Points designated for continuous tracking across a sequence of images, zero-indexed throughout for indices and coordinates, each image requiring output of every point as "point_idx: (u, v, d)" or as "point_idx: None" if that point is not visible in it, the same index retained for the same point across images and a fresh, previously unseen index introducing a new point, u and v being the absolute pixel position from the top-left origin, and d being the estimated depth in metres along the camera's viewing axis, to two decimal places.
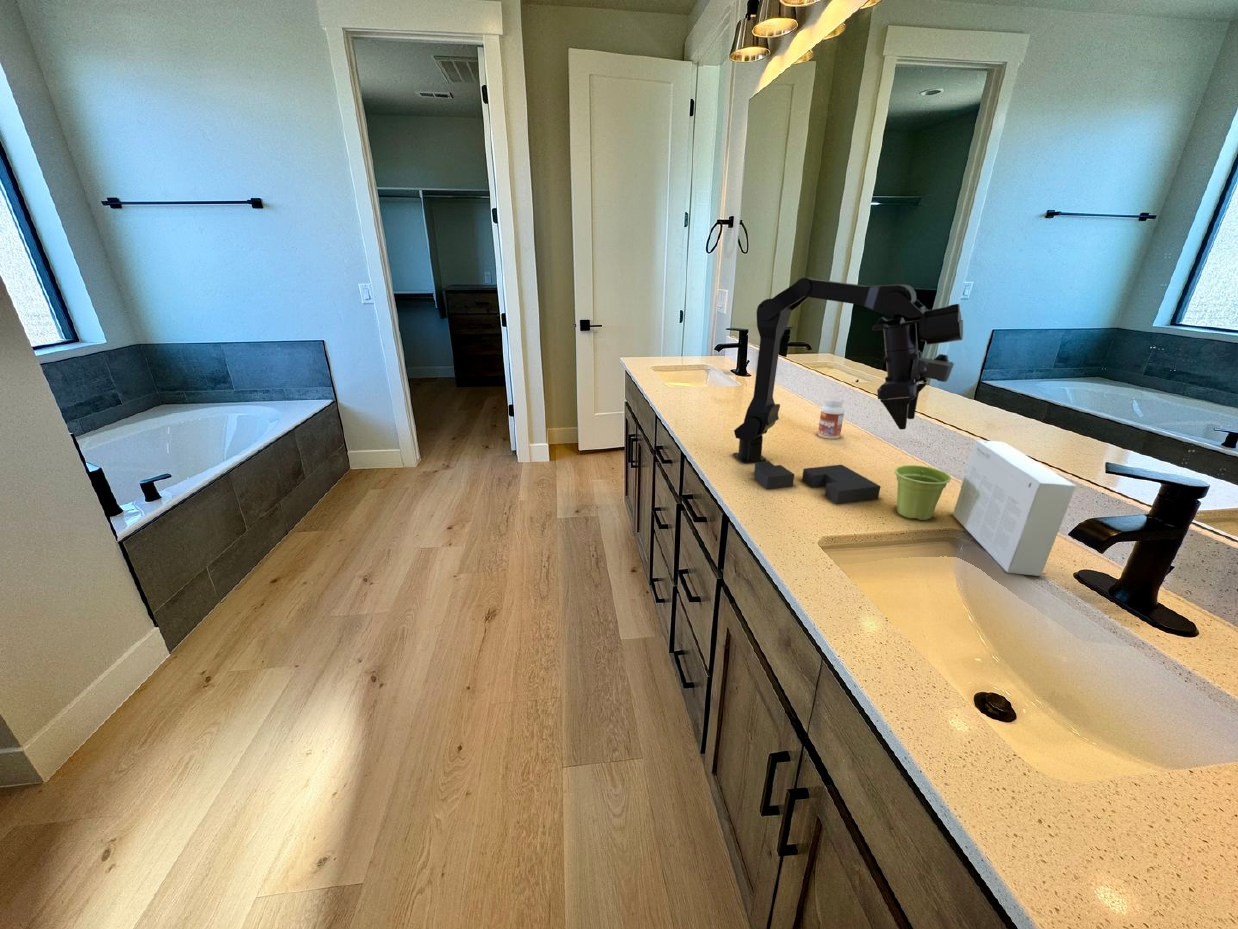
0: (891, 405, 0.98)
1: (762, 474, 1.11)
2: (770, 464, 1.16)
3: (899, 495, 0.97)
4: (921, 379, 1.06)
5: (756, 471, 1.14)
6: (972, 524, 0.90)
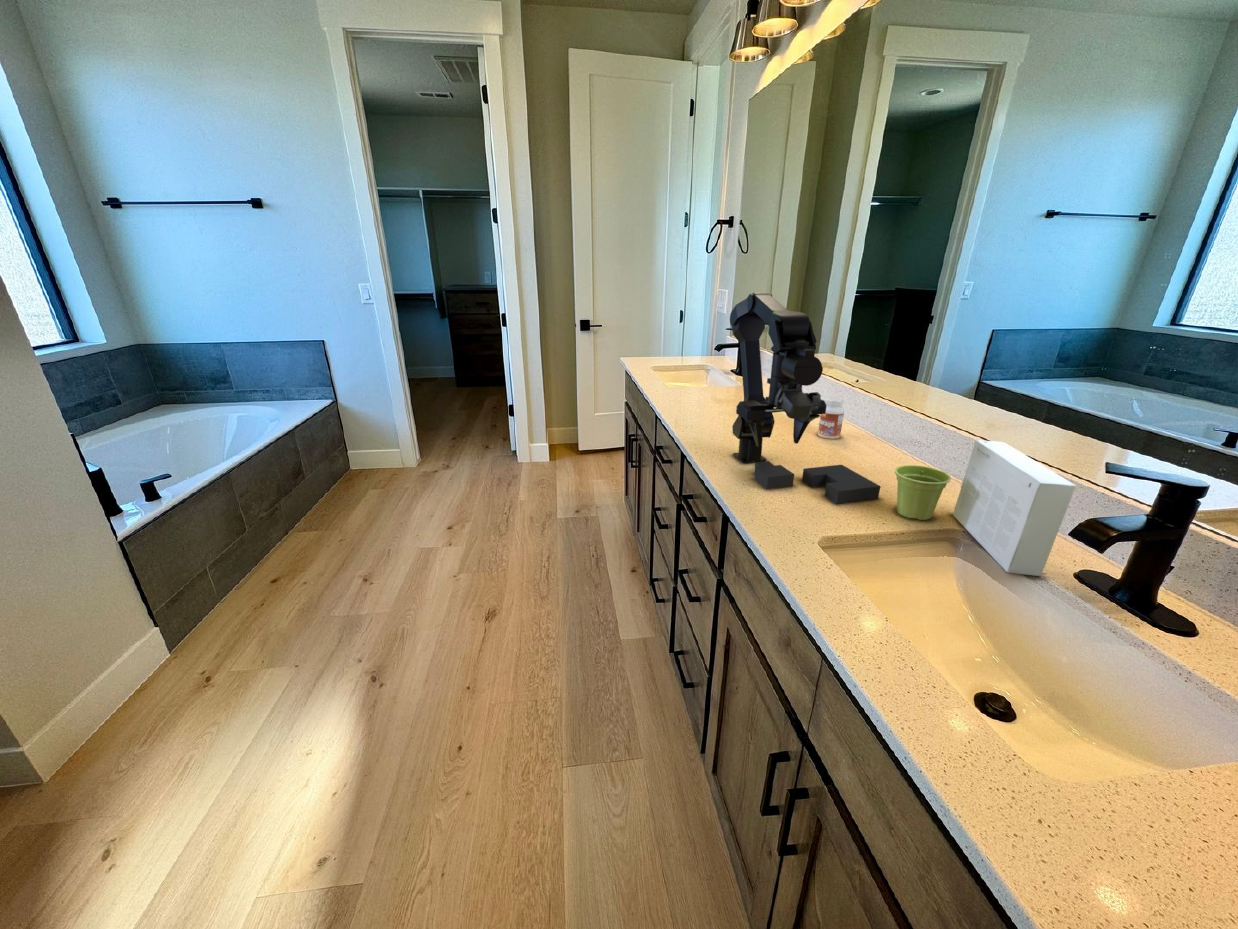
0: (750, 422, 1.08)
1: (762, 474, 1.11)
2: (770, 464, 1.16)
3: (899, 495, 0.97)
4: None
5: (756, 471, 1.14)
6: (972, 524, 0.90)
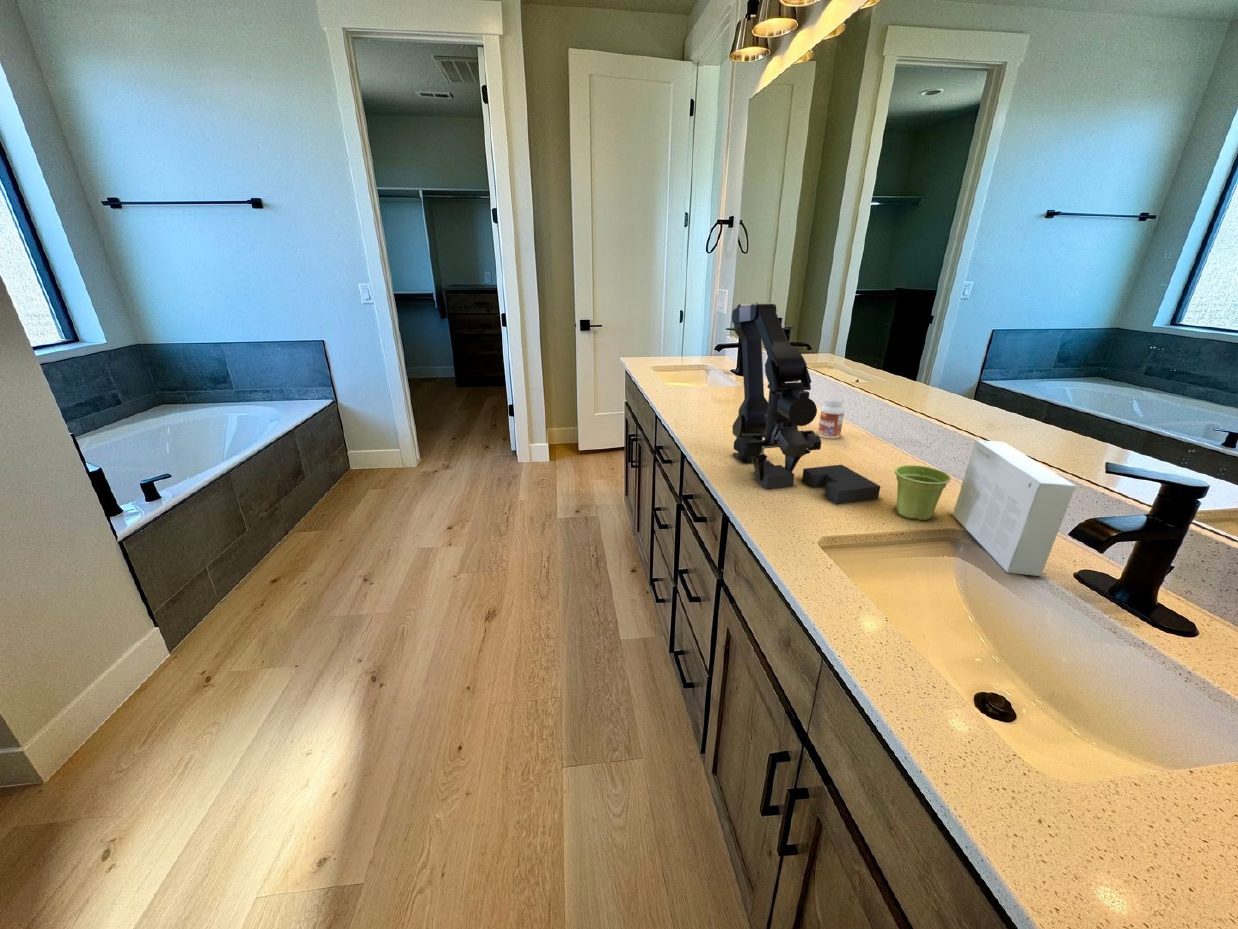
0: None
1: None
2: (770, 464, 1.16)
3: (899, 495, 0.97)
4: None
5: None
6: (972, 524, 0.90)
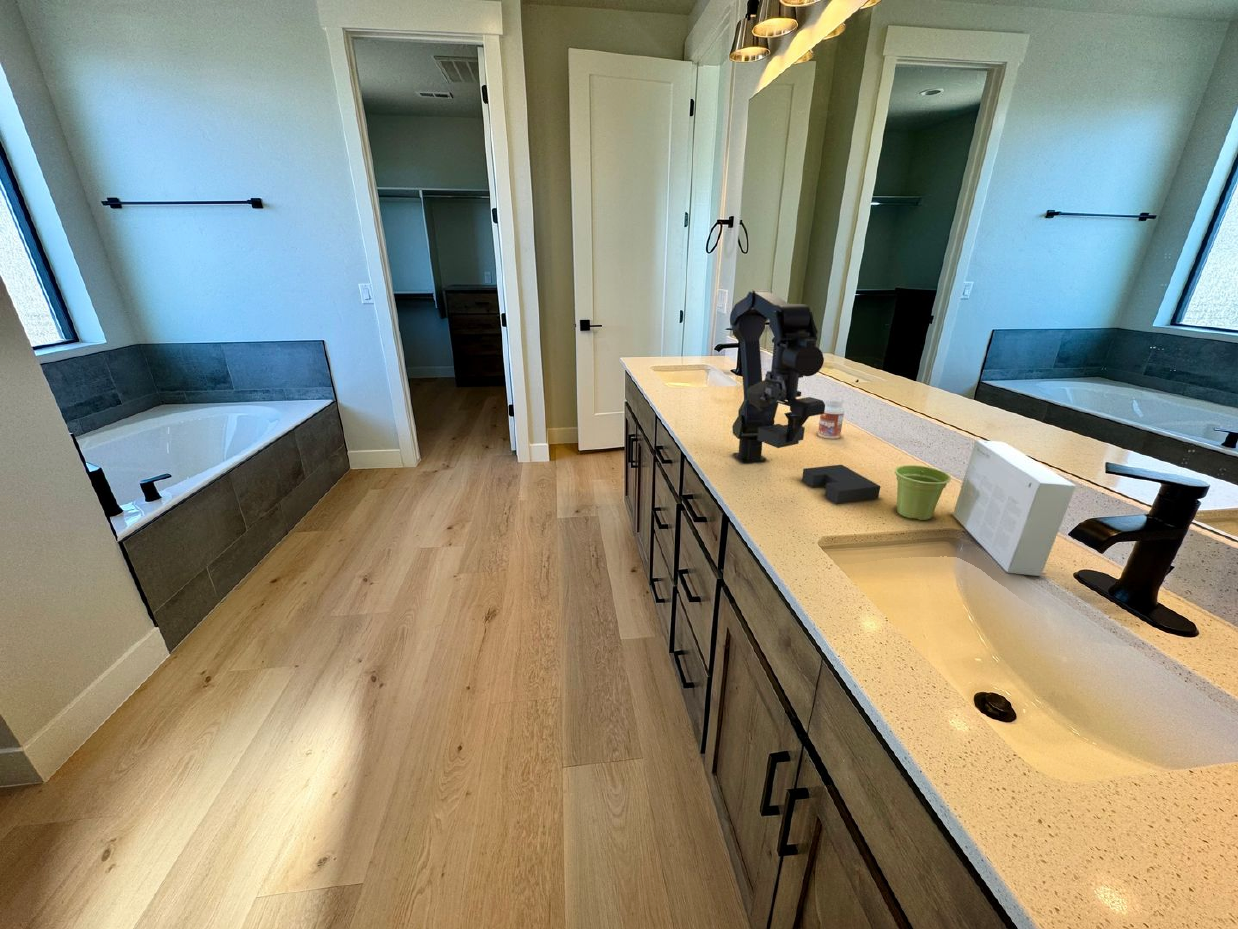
0: None
1: None
2: None
3: (899, 495, 0.97)
4: None
5: None
6: (971, 524, 0.90)
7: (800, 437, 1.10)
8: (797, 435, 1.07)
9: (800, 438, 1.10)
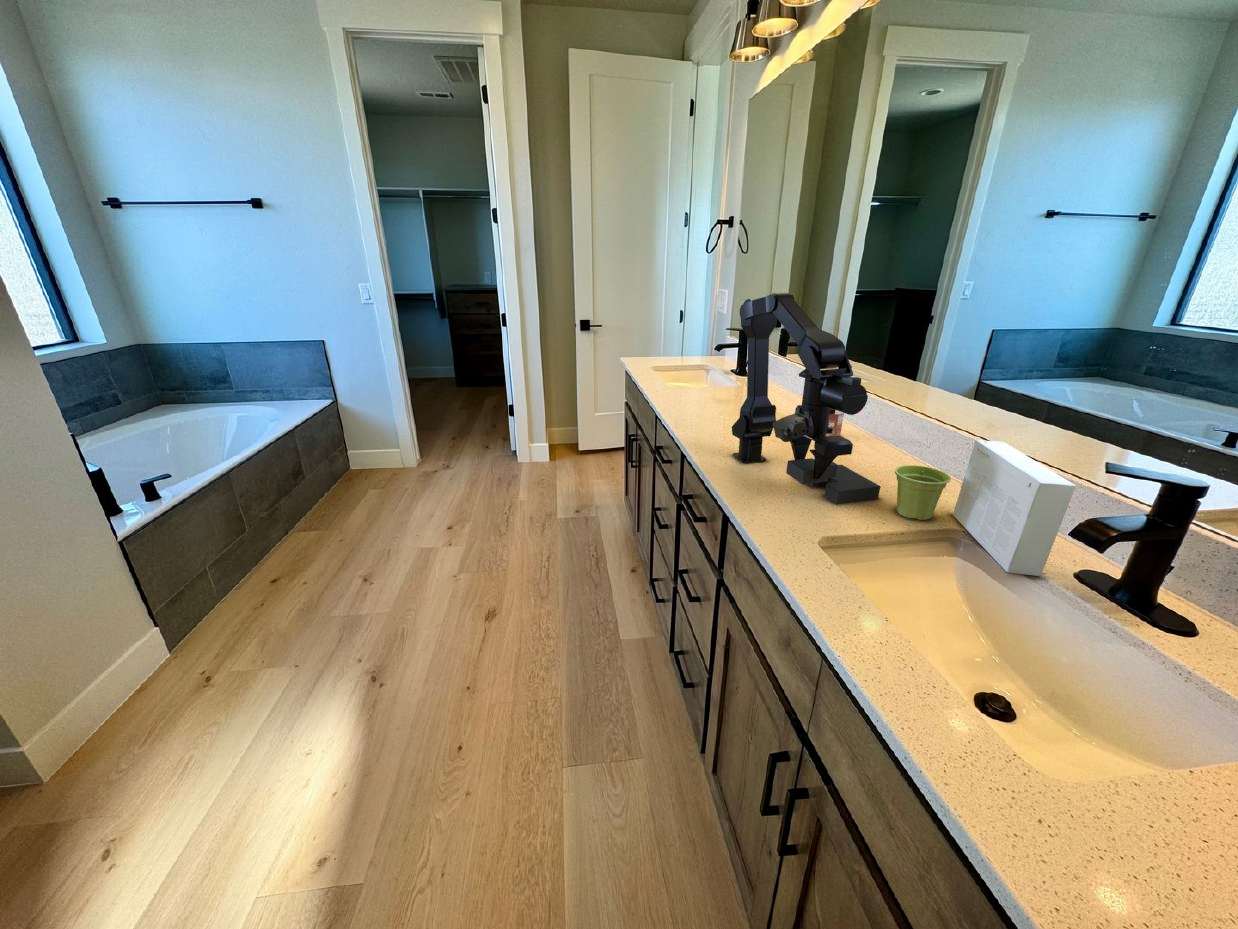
0: None
1: None
2: None
3: (899, 495, 0.97)
4: None
5: None
6: (972, 524, 0.90)
7: (832, 474, 1.05)
8: (826, 473, 1.03)
9: (832, 475, 1.06)
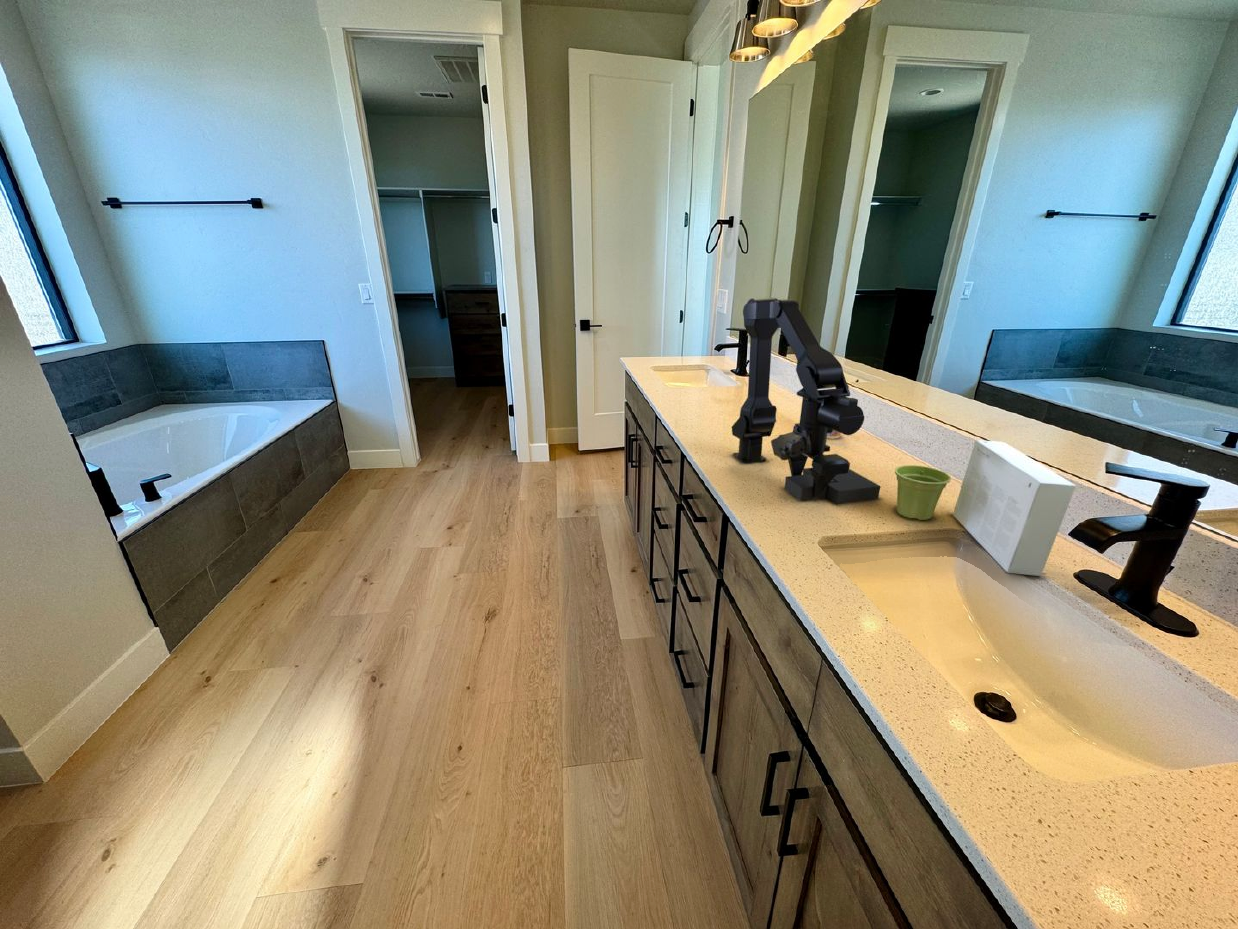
0: None
1: None
2: None
3: (899, 495, 0.97)
4: None
5: None
6: (971, 524, 0.90)
7: None
8: (824, 489, 1.04)
9: None
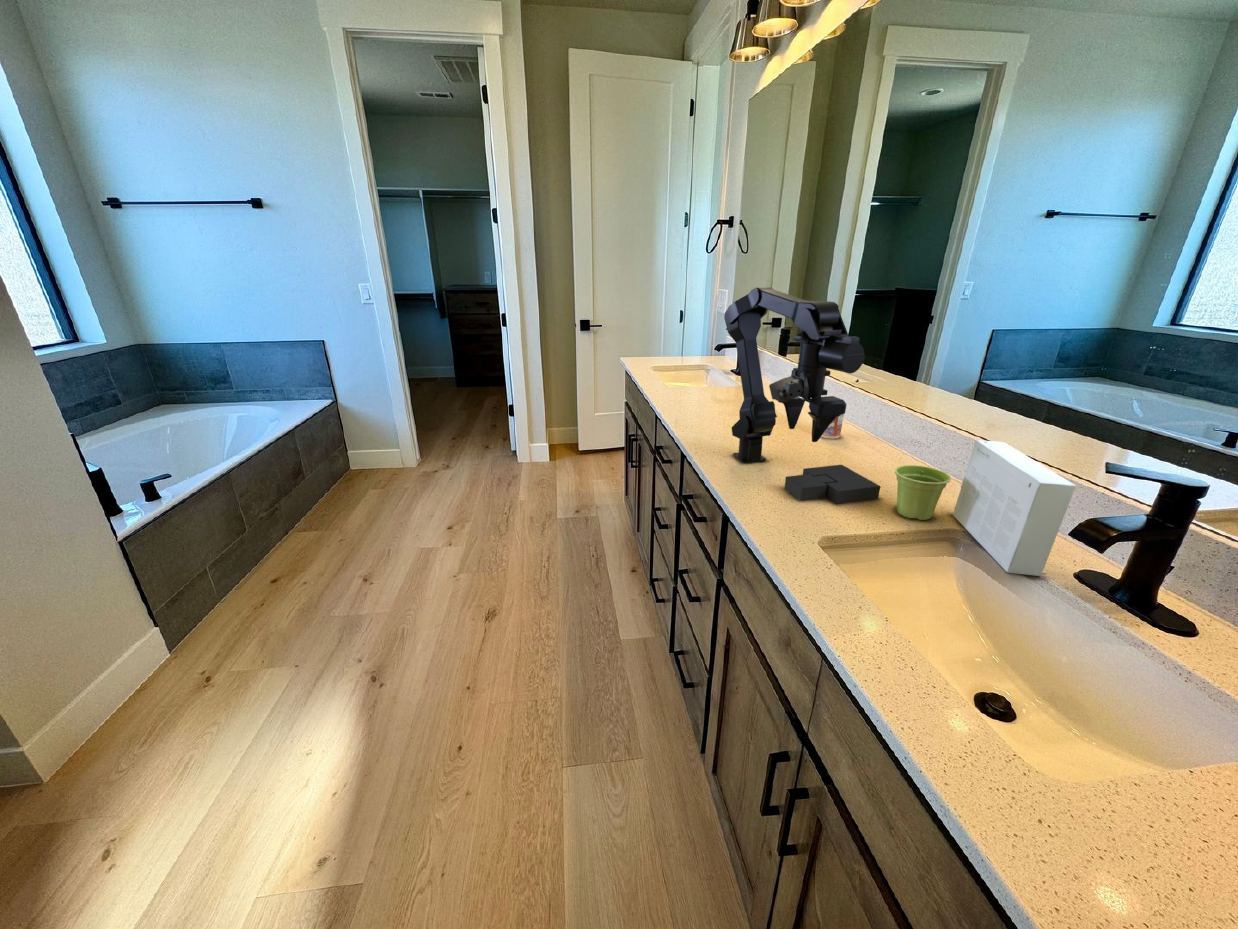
0: None
1: None
2: (824, 480, 1.06)
3: (899, 495, 0.97)
4: None
5: None
6: (971, 524, 0.90)
7: None
8: (824, 489, 1.04)
9: None
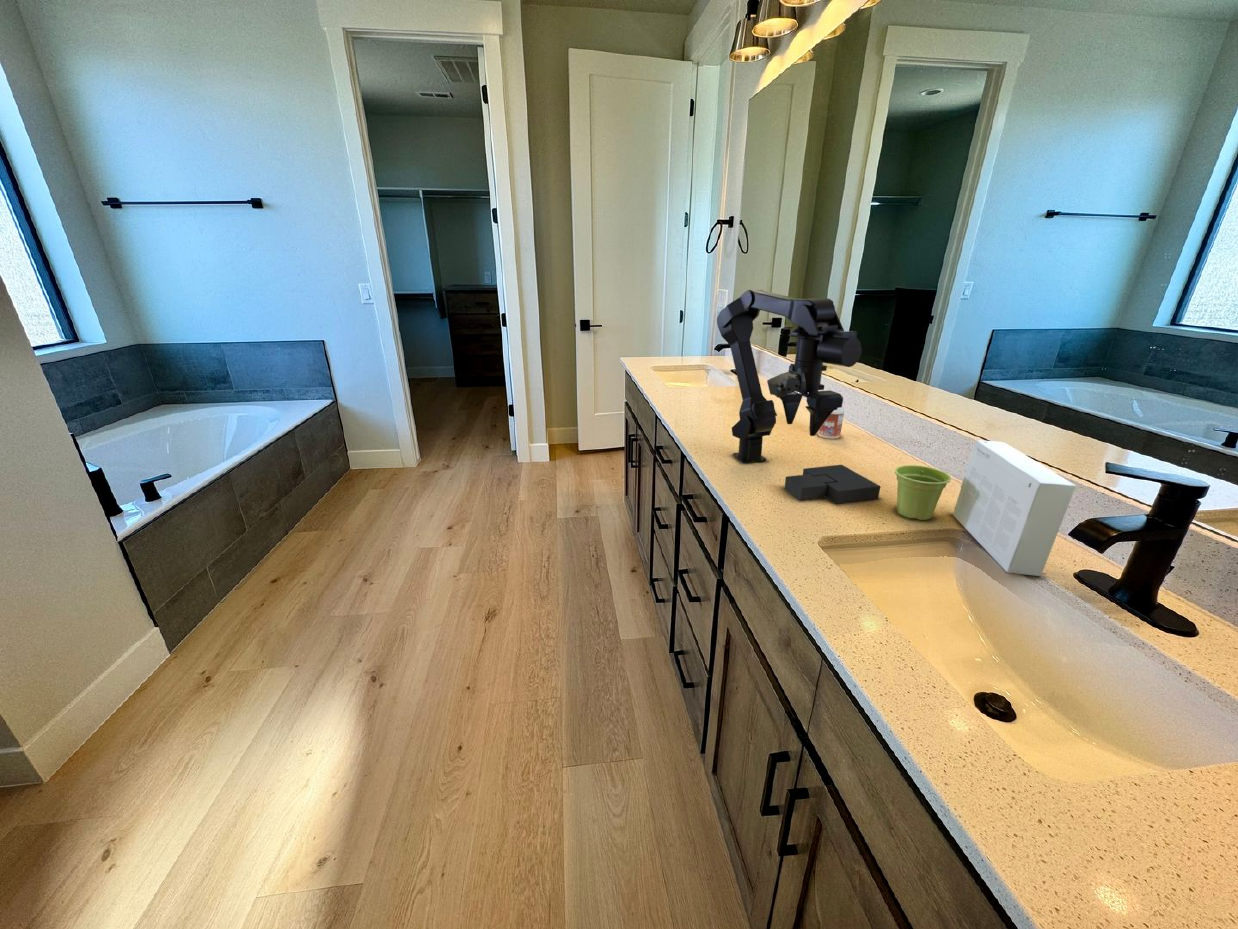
0: None
1: None
2: (824, 480, 1.06)
3: (899, 495, 0.97)
4: None
5: None
6: (971, 524, 0.90)
7: None
8: (824, 489, 1.04)
9: None
